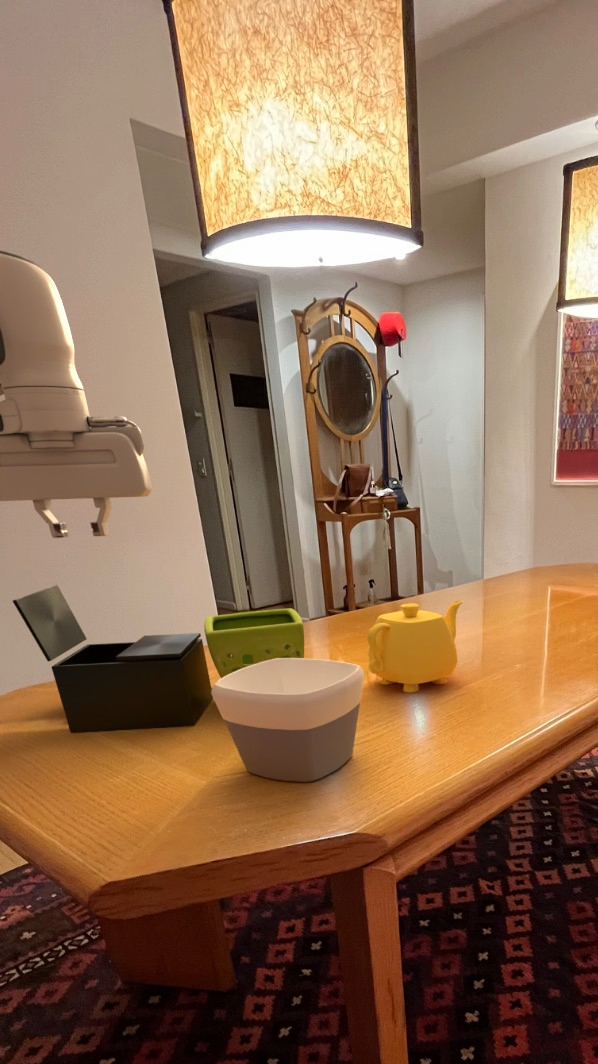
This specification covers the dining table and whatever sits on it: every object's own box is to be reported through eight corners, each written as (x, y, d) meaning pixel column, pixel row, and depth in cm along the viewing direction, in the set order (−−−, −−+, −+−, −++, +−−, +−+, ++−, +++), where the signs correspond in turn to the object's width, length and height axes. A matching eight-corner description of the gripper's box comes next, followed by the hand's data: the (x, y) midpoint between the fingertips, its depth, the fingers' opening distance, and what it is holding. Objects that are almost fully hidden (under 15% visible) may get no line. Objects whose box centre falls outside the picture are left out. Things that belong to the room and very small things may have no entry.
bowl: (285, 734, 92) (274, 653, 87) (385, 748, 86) (379, 663, 81) (209, 778, 79) (190, 686, 74) (320, 798, 74) (308, 700, 69)
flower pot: (304, 683, 114) (294, 606, 108) (315, 707, 102) (305, 622, 96) (218, 692, 110) (203, 613, 105) (219, 719, 98) (202, 631, 93)
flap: (51, 660, 90) (47, 661, 90) (87, 639, 102) (84, 640, 102) (15, 599, 86) (11, 600, 86) (57, 584, 98) (53, 585, 98)
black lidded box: (70, 733, 95) (49, 660, 90) (103, 704, 106) (85, 638, 102) (194, 725, 96) (179, 653, 91) (213, 698, 108) (200, 632, 103)
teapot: (348, 684, 112) (340, 606, 107) (439, 662, 124) (436, 590, 119) (397, 702, 103) (392, 618, 98) (491, 676, 115) (491, 599, 109)
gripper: (145, 417, 87) (167, 532, 93) (-21, 421, 86) (13, 537, 92) (129, 414, 82) (154, 536, 88) (-49, 417, 80) (-10, 542, 86)
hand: (81, 536), depth 90 cm, fingers open, 4 cm apart
